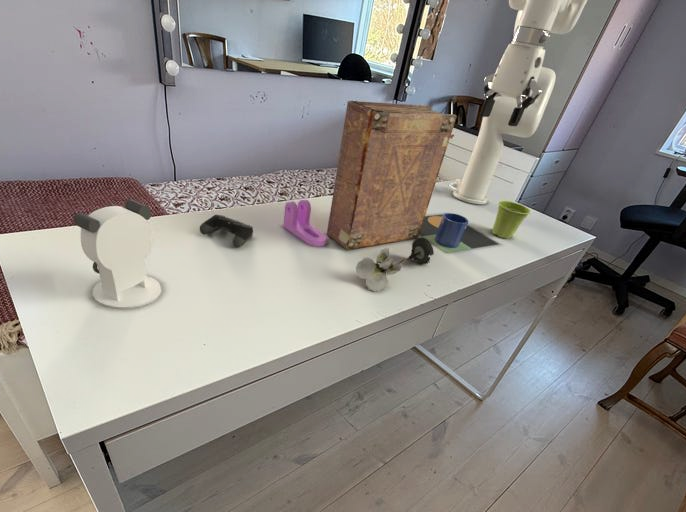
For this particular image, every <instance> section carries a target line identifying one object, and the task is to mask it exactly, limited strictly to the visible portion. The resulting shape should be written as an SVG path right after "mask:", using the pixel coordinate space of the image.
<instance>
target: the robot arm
mask: <svg viewBox="0 0 686 512" xmlns="http://www.w3.org/2000/svg"><path fill="white" fill-rule="evenodd" d="M587 2H588V0H508V5H509V8H511V9H512V10H516V11H517V14H516V17H515V23H514V29H513V37H512V40H511V42H510V43H508V44H507V47H506V48H505V51H504V53H503V54H502V57H501V59H500V62H499V64H498V66H497V68H496V70H495V72H493V73H491V74H489V75H487V76H485V77H484V87H483V91H484V99H485V100H484V102H483V106H482V109H481V111H480V115H479V116H480V117H482V121H481V123H480V128H479V132H478V135H477V139H476V141H475V144H474V146H473V150H472V153H471V155H470V158H469V160H468V163H467V165H466V169H465V171H464V175H463V177H462V179H460V178H457V179H455V181H453V184H452V185H454V186H456V189H454V190H453V192H452V195H453V197H454V198H456V199H458V200H460V201H462V202H464V203H468V204H473V205H486V204H487V203H488V200H489V199H488V197H487V196H486V194H487V192H488V189H489V186H490V184H491V181H492V179H493V177H494V175H495V172H496V170H497V167H498V165H499V162H500V160H501V157H502V155H503V152H504V148H505V147H504V146H505V145H504V141H503V138H502V135H510V136H515V137H518V138H525V139H527V138H530V137H532V136H533V135H534V134H535V132H536V131H537V130H538V127H539V125H540V123H541V120H542V118H543V116H544V113H545V110H546V108H547V105H548V103H549V100H550V97H551V95H552V93H553V90H554V87H555V84H556V80H557V79H556V78H557V75H556V72H555V70H553V69H551V68H548V67H544V66H543V63H544V60H545V55H546V49H544V48H545V45H546V44H549V43H550V42H551V39H552V35H550V33H552V34H557V35H566V34H568V33H570V32H571V31H572V30H573V29H574V27H575V26H576V24H577V23H578V21H579V19H580V17H581V14H582V12H583V10H584V9H585V6H586V4H587ZM498 95H501V96H498Z"/></svg>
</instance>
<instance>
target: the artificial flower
mask: <svg viewBox="0 0 686 512" xmlns="http://www.w3.org/2000/svg"><path fill="white" fill-rule="evenodd" d="M410 250H411V252H410V255H409V256H408V257H407V258H403V259H402V260H401V261H399V262H397V263H394V258H393V257H392V258H389V255H390V248H388V247H385V248H384V249H381V250H380V251H379V253H378V255H377V256H376V260H375V262H374V260H373V259H372V258H370V257H363V258H362V259H361V260H359V261H357V263H356V266H355V270H356V274H357V275H356V276H357V277H358V278H359V279H362V280H365V286H366V287H367V290H369V291H373V292H375V293H376V292H380V291H382V290H383V289H384V288H386V287H388V285H389V280H388V277H387V276H389V275H395V274H397V273H398V272H401V271H402V269H403V268H404V262H407V261H408V262H409V261H410V262H411V261H412V260H413V261H414V262H417V263H419V264H420V265H426V264H427V265H428V264H430V262H431V257H430V256H434V255H435V252H434V247H433V244H432V243H431V242H430V241H428V240H427V239H425V238H423V237H418V238H416V239H414V241H413V242H412V244H411V249H410Z"/></svg>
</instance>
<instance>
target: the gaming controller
mask: <svg viewBox="0 0 686 512" xmlns="http://www.w3.org/2000/svg"><path fill="white" fill-rule="evenodd" d="M198 228H199V232H200V234H202V235H204V236H205V235H206V236H207V235H211V234H212V233H215V232H217V231H219V230H221V231H224V232H227V233H230V234H231V235H232V234H233V235H234V236H233V238H232V245H233V246H234V247H235V248H241V247H242V246H244V245H245V244H246V243H247V242H248V240H250V239H252V238H253V236H254V227H253V226H252V225H250V224H246V223H244V222H241V221H239V220H236V219H233V218H231V217H230V218H229V217H227V216H226V215H222V214H214V215H213V216H211V217H210V218H207V219H206V220H205V221H203V222H202V223H201V224H200V225H199V227H198Z"/></svg>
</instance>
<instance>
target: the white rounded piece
mask: <svg viewBox="0 0 686 512" xmlns="http://www.w3.org/2000/svg"><path fill="white" fill-rule="evenodd" d="M151 217H152V210H151V208H150V207H149V206H148V205H147V204H143V203H142V202H138V201H136V200H134V199H131V198H128V199H127V200H126V201H125V204H124V207H123V206H119V205H110V206H105V207H102V208H98V209H96V210H94V211H92V212H91V213H89V214H88V215H87V214H85V213H83V212H77V213H75V214H74V216H73V224H74V225H75V226H77V227H79V228H80V246H81V249H82V251H83V253H84V254H85V256H86V258H88V259H89V260H90V261H92V262H93V263H92V270H93V271H94V272H95V273H97V274H98V275H99V277H100V281H99V282H97V283H96V284H95V285H94V287H93V289H92V296H93V299H94V300H95V301H96V302H97V303H98V304H99V305H102V306H104V307H107V308H112V309H118V310H119V309H120V310H127V309H135V308H136V309H137V308H140V307H144V306H147V305H149V304H151V303H153V302H154V301H155V300H157V299H158V298H159V296H160V295H161V293H162V287H161V286H162V285H161V284H160V282H159V281H158V280H156V279H155V278H154V277H151V276H148V275H147V262H146V260H147V258H148V257H149V256H150V253H151V251H152V248H153V246H154V240H155V239H154V232H153V229H152V227H151V225H150V223H149V222H148V221H149V220H150V219H151Z"/></svg>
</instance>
